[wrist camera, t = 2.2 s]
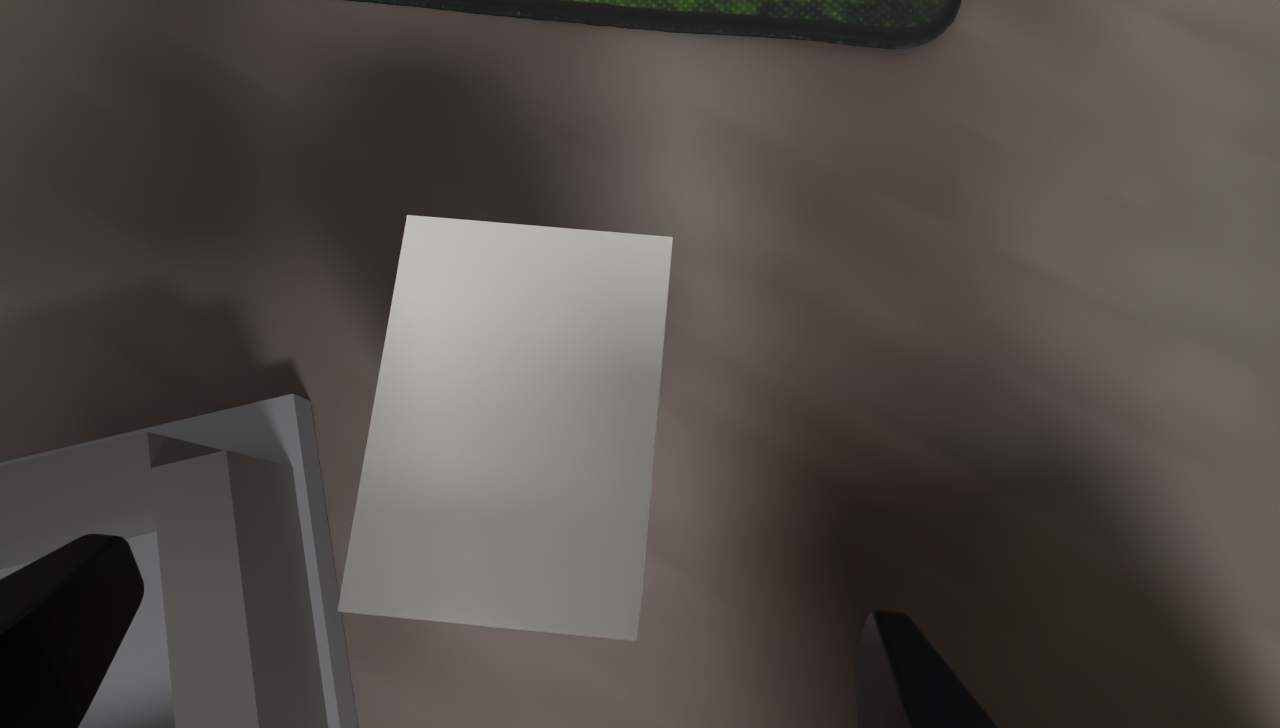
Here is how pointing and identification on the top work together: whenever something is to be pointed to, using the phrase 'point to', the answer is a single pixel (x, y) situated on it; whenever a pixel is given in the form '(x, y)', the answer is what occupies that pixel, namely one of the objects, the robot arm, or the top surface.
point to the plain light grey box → (513, 430)
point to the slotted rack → (202, 566)
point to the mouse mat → (737, 17)
